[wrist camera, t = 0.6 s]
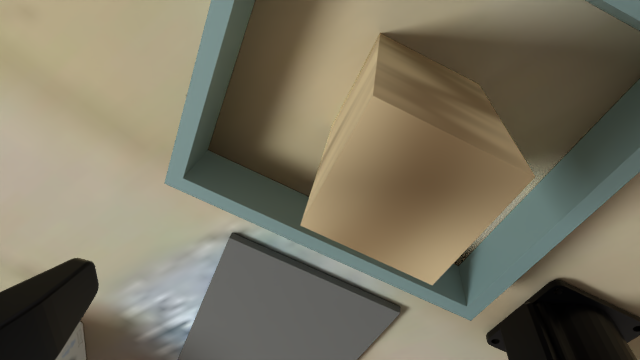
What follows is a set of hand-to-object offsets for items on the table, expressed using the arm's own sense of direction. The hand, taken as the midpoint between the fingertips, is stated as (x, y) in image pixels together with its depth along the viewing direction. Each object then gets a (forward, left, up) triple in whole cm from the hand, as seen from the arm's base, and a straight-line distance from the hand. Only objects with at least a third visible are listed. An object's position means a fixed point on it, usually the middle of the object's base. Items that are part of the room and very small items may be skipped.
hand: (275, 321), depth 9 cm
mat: (-3, +18, -12) cm, 22 cm away
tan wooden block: (-2, -2, -12) cm, 13 cm away
